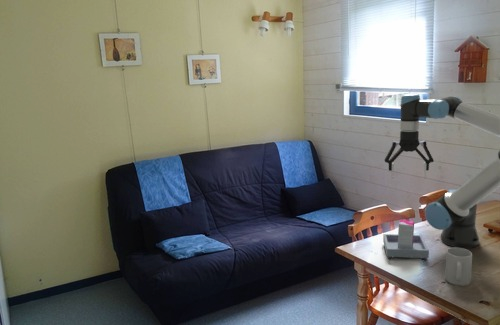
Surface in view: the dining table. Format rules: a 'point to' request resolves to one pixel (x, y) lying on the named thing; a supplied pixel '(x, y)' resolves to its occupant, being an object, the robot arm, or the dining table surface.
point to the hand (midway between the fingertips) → (408, 177)
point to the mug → (458, 266)
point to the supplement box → (405, 234)
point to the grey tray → (416, 252)
